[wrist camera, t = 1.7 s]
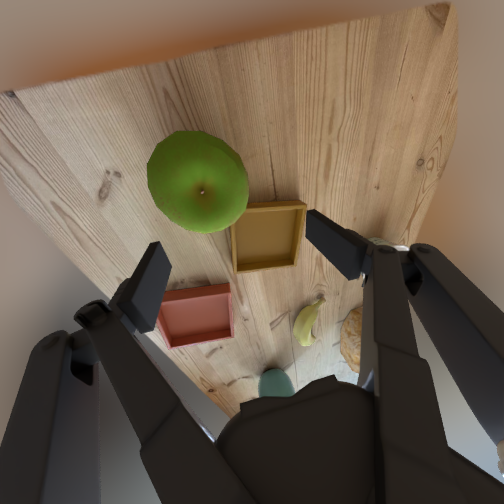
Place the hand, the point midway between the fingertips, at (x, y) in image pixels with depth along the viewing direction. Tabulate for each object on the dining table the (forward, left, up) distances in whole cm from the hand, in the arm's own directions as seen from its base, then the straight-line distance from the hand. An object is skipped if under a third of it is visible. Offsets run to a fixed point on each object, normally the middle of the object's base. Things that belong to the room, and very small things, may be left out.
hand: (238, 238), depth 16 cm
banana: (+25, -42, -19) cm, 52 cm away
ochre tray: (+8, -10, -19) cm, 23 cm away
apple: (-3, +2, -19) cm, 19 cm away
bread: (+47, -59, -19) cm, 78 cm away
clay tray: (-9, -31, -19) cm, 37 cm away
